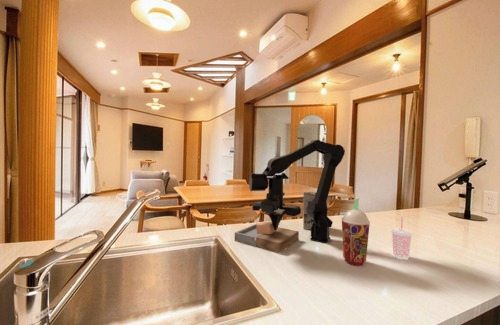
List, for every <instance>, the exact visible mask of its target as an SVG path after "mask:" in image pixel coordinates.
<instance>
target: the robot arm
mask: <svg viewBox="0 0 500 325" xmlns="http://www.w3.org/2000/svg"><path fill="white" fill-rule="evenodd" d="M314 152H317V153H319V154H322V156H323V157H322V162H323V167H322V171H321V174H320V179H319V182H318V185H317V190H316V192H315V193H316V195H315V198H314V199H313V201H312V202H311V201H308V206H307V208H306V210H307V215H308V217H309V218H310V220H311V222H313V224H312V227H311V229H310V241H316V242H320V243H324V244H326V243H328V242H329V241H330V240H331V237H330V228H331V227H333V221H332V220H331V219H330V217H328V204H327V200H328V198H329V193H330V191H331V187H332V183H333V181H334V180H333V179H334V176H335V173H336V170H337V167H338V166H339V165H340V164H341V162H342V161H343V158H344V156H345V153H346V150H345V148H344V147H343V145H341V144H332V143H329V142H326V141H325V142H324V141H323V140H320V139H314V140H311V141H310V142H308V143H306V144H304V145H302V146H301V147H298V148H296V149H294V150H293V151H291V152H289V153H287V154H283V155H279V156H276V157H273V158H270V159H269V160H268V162H267V165H266V168H265V169H264V170H263V172H261V173H253V172H252V173H250V176H249V181H248V188H249V191H250V192H257V191H258V192H264V191H266V189H268V192H267V193H266V197H265V198H264V199H263V200H262V201H257V202H253V204H252V211H258V212H259V211H260V212H262V213H264V214H265V215H268V217H269V218H270V222H272V224H273V227H274V230H277V228H278V227H279V225H280V223H281V221H282V219H283V216H284V215H286V216H289V217H290V216H291V217H296V216H298V215H300V214H302V212H301V211H302V209H301V207H300V206H299V205H291V204H290V205H287V206H285V204H286V203H285V202H284V196H285V194H286V193H285V192H284V180H287V179H288V180H289V176H288V175H286V173H285V172H284V171H286V170H287V169H289V167H290V166H291V165H293V164H294V163H296V162H297V161H299V160H301V159H304V158H305V157H307V156H309V155H310V154H312V153H314Z"/></svg>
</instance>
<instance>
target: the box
mask: <svg viewBox="0 0 500 325" xmlns="http://www.w3.org/2000/svg"><path fill="white" fill-rule="evenodd" d="M257 224H258V223H255V224H251V225H250V226H247V227H244V228H242V229H240V230H238V231H235V232H234V241H236V242H239V243H243V244H246V245H250V246H253V247H257V246H256V237H258V236H260V235H262V234H257V229H256V225H257Z"/></svg>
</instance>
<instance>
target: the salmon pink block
mask: <svg viewBox="0 0 500 325" xmlns="http://www.w3.org/2000/svg"><path fill="white" fill-rule="evenodd" d="M256 224H257V225H256V229H257V234H272V233H273V232H275V231H277V230H274V227H273V224H272V221H261V222H260V223H256Z"/></svg>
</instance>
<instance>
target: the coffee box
mask: <svg viewBox="0 0 500 325" xmlns="http://www.w3.org/2000/svg"><path fill="white" fill-rule="evenodd" d="M315 195H316V192H314V191H313V192H310V191H309V192H308V191H307V192H303V204H302V212H303V214H302V217H303V220H302V223H303V224H302V225H303V226H302V228H303V229H304V230H311V227H312V224H313V222H311V220H310V218H309V217H308V215H307V210H306V208H307V206H308V201H311V202H312V201H313V199H314V198H315Z"/></svg>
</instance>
